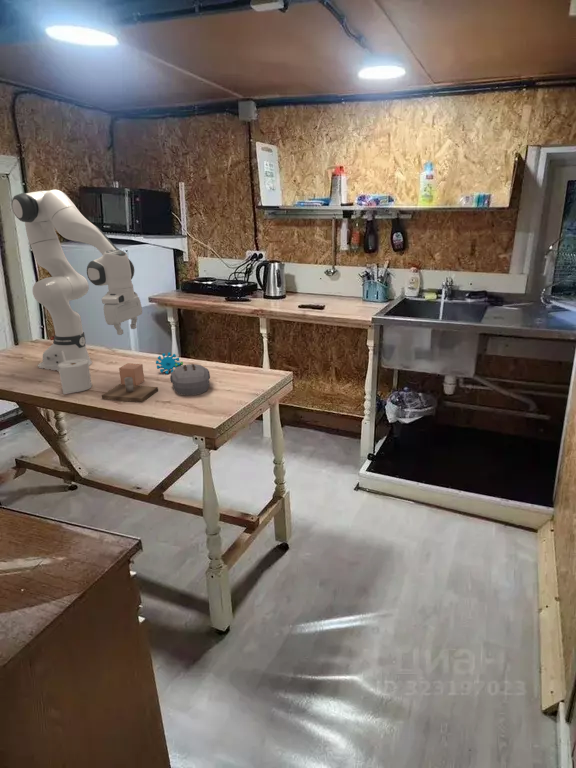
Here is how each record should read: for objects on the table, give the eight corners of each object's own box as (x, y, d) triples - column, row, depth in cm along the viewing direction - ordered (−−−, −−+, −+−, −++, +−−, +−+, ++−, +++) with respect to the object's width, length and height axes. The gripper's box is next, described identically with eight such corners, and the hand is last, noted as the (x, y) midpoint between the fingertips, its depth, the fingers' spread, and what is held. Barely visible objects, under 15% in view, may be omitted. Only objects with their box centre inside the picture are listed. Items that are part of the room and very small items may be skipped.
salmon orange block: (121, 385, 192) (119, 368, 190) (130, 379, 198) (127, 363, 196) (136, 386, 191) (133, 369, 189) (144, 380, 197) (142, 364, 194)
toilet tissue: (91, 381, 197) (88, 357, 193) (92, 391, 186) (88, 366, 183) (62, 385, 193) (58, 361, 190) (61, 395, 183) (56, 370, 179)
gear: (154, 371, 202) (157, 350, 207) (155, 378, 208) (158, 357, 212) (181, 374, 204) (184, 352, 208) (181, 380, 209) (184, 359, 213)
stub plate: (102, 399, 179) (99, 382, 176) (120, 387, 190) (117, 371, 187) (141, 402, 175) (139, 385, 173) (158, 390, 186) (156, 374, 184)
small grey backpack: (170, 381, 196) (172, 399, 178) (168, 361, 193) (170, 377, 175) (208, 378, 199) (214, 395, 181) (207, 358, 197) (212, 373, 178)
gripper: (129, 290, 194) (134, 325, 198) (98, 299, 175) (104, 337, 179) (143, 290, 192) (148, 325, 197) (114, 299, 173) (120, 338, 178)
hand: (127, 331), depth 188 cm, fingers open, 8 cm apart
